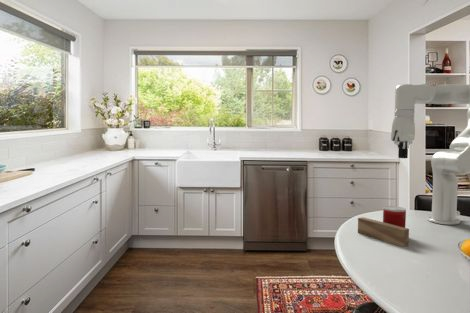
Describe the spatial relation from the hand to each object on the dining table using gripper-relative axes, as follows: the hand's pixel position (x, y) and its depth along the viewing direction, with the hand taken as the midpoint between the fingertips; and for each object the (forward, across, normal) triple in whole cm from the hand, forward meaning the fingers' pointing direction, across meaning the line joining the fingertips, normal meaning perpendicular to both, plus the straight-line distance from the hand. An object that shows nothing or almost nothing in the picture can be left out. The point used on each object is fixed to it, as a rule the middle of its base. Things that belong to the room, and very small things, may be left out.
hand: (402, 157), depth 153 cm
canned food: (+29, +16, +8) cm, 34 cm away
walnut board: (+29, +23, +8) cm, 38 cm away
